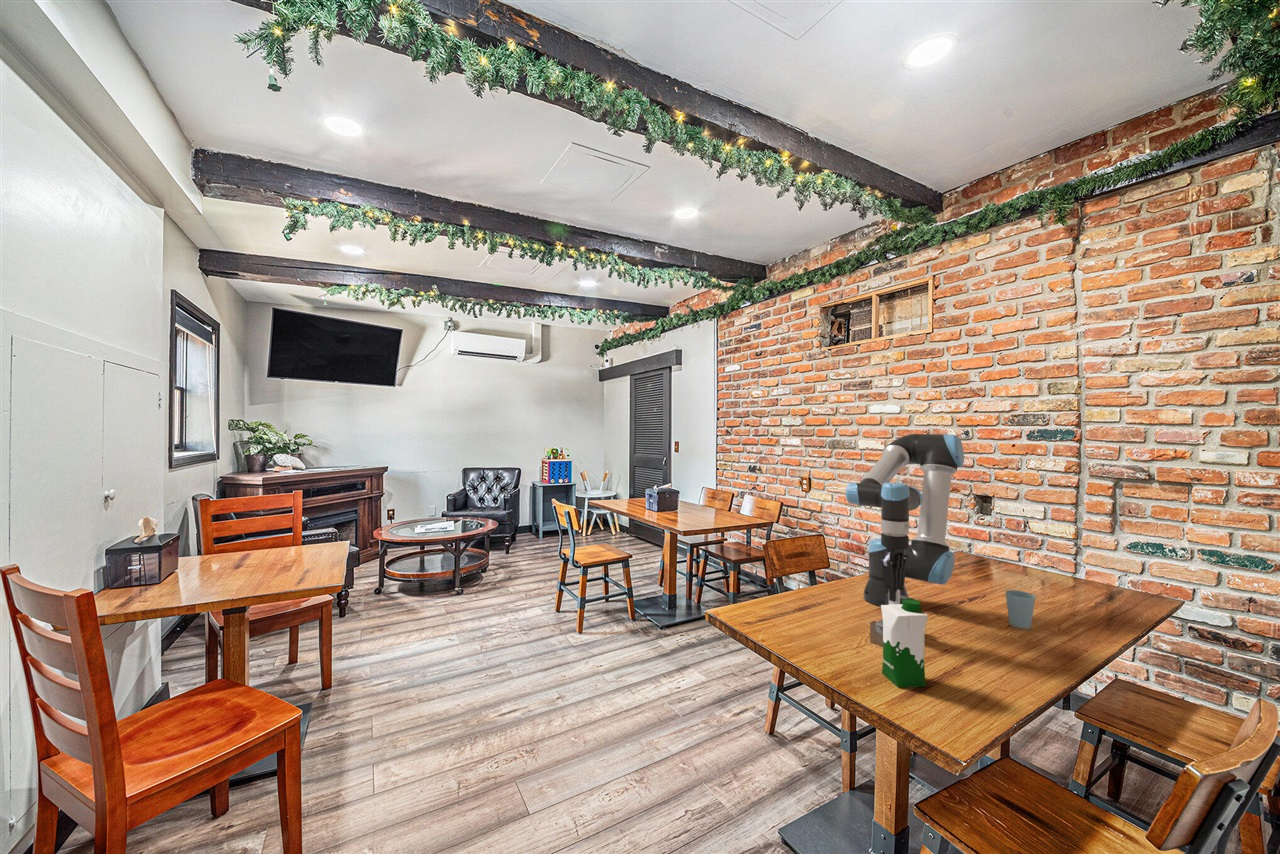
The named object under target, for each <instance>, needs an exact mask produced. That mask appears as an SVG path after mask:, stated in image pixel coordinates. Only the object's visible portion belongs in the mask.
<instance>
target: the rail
mask: <svg viewBox="0 0 1280 854" xmlns="http://www.w3.org/2000/svg"><path fill="white" fill-rule="evenodd" d="M869 623H870V624H869V628H870V629H869V643H870V642H871V644H873V645H876V644H877V645H876V646H878V645H879V647H881V646H882V648H883V619H881V620H879V621H875V620H872V621H870V622H869Z"/></svg>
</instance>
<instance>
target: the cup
mask: <svg viewBox="0 0 1280 854" xmlns="http://www.w3.org/2000/svg"><path fill="white" fill-rule="evenodd" d="M1005 598H1006V607H1007V615H1008V622H1009V625H1010V626H1011V627H1015V628H1017V629H1022V630H1029V629H1031V628H1032V623H1033V622H1032V621H1033V615H1034V610H1035V603H1036V595H1034V594H1032V593H1030V592H1026V591H1022V590H1016V589H1007V590H1005Z"/></svg>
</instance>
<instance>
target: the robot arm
mask: <svg viewBox="0 0 1280 854" xmlns="http://www.w3.org/2000/svg"><path fill="white" fill-rule="evenodd" d="M964 463H965V453H964V448H963V443H962V439H961V438H960V437H959V436H958V435H956V434H947V433H942V434H941V433H939V434H938V433H935V434H934V433H911V434H906V435H903V436H900V437H898V438H895V439H894V440H893V441H891V442H890V443H888V444H887V445H886V446H885V447H884V448H883V450H882V453H881V457H879V459H878V460H877V461H876V462H875V464H874V465H873V467H871V469H870V470H869V471H868V472H867V474H865V475H864V477H863V478H862V480H860V482H857V481H855V482H849V483H848V484H847V486H846V488H845V499H846V501H847V502H848V503H849V504H851V505H857V506H861V507H863V506H864V507H870V508H871V507H872V508H880V510H881V511H880V512H881V519H880V521H881V524H880V531H881V532H882V533H881V534H880V537H878V538H874V539H872V540H870V541H869V545H868V546H869V547H868V578H867V582H866V584H865V588H864V590H863V599H864V601H866V602H867V603H869V604H871V605H874V606H878V607H881V605H885V595H886V594H888V593H889V605H890V604H900V595H902V596H906V597H909V594H908V591H907V588H906V585H905V579H906V578H907V579H911V580H915V581H922V582H926V583H930V584H935V585H937V584H938V585H946V583H948V582H949V581H950V579H951V577H952V574H953V571H954V567H955V557H956V556H955V554H954V552H952V551H950V545H949V544H948V543H947V542H946V536H947V535H946V534H947V533H946V532H947V524H948V523H947V522H948V513H949V504H950V496H951V495H950V494H951V484H952V476H953V475H955V474H956V473H957V472H958V468H962V467H963V466H964ZM911 464H912V465H919V468H920V470H922V471H923V479H922V480H923V481H922V488H921V489H922V490H921V491H920V490H919V489H918V488H917V487H914V486H910V485H908V484H907V483H903V482H891V481H892V480H893V479H894V478H895V476H896V475H897V473H898V472H899V471H900V470H901V469H902V468H905V467H906V466H907V465H911ZM918 508H919V517H918V525H917V534H916V536H915V537H913V538H912V539H911V542H910V538H909V534H910V532H909V531H910V528H911V525H910V511H914V510H916V509H918ZM909 598H910V597H909Z"/></svg>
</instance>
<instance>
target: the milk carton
mask: <svg viewBox="0 0 1280 854" xmlns="http://www.w3.org/2000/svg"><path fill="white" fill-rule="evenodd" d="M913 599H914V598H913ZM913 599H903V603H902V604H890V605H881V606H880V610H881V616H882V620H883V647H882V667H881V668H882V670H881V671H882V672H881V674H882V675H883V674H884V675H885V676H884V675H883V676H884V677H886V678H887V679H888V680H889V681H890V682H891V681H892V682H891V683H893V684H894V685H895V686H896V687H897V688H899V689H900V688H902V689H903V688H904V689H905V688H924V687H926V675H925V674H926V673H925V670H926V669H925V631H926V627H927V622H928V617H929V615H928V614H927V613H925V612H923V611H922V610H921V602H920V601H918V600H917V599H915V600H913Z"/></svg>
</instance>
